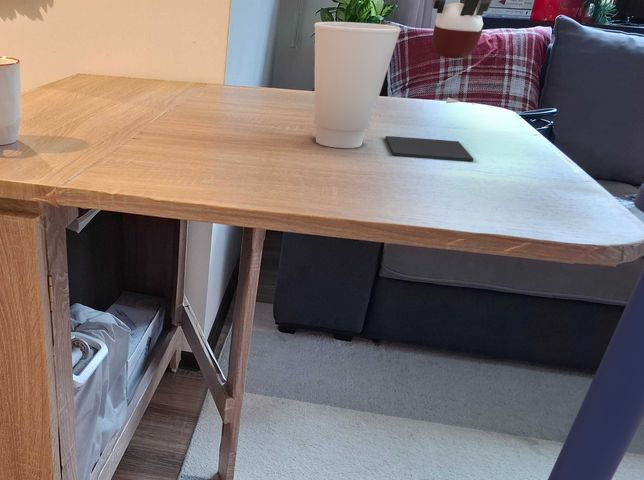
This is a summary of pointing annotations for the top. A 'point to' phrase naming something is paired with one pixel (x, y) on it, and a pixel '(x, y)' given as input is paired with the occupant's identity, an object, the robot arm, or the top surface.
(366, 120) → the cup
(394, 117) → the top surface
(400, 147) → the coaster
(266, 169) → the top surface
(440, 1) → the robot arm
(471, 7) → the cocoa
